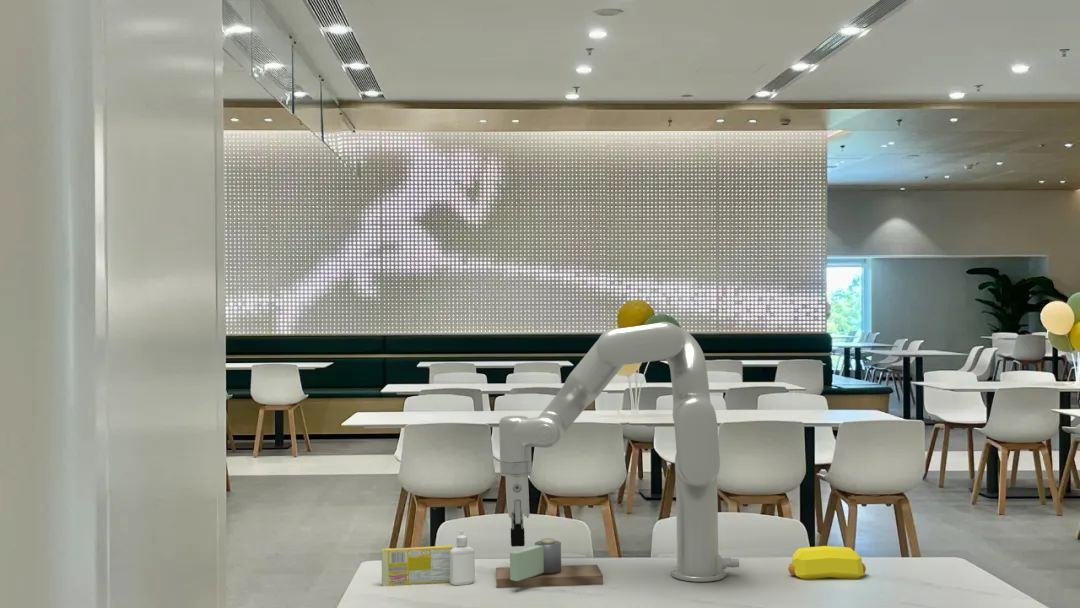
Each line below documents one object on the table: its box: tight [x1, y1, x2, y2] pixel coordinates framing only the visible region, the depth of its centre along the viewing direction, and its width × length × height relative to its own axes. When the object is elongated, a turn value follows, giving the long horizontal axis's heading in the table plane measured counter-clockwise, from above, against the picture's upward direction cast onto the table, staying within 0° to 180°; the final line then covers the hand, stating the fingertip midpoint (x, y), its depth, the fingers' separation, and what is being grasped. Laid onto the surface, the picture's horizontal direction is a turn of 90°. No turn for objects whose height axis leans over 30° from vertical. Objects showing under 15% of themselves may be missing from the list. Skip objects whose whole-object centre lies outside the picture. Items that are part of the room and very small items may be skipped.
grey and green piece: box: [509, 537, 562, 581], centre depth 217 cm, size 15×6×7 cm, turn 140°
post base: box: [495, 564, 604, 589], centre depth 220 cm, size 24×10×2 cm, turn 94°
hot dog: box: [787, 545, 867, 580], centre depth 221 cm, size 18×7×8 cm
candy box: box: [381, 545, 453, 587], centre depth 219 cm, size 16×2×8 cm, turn 97°
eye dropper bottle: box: [449, 529, 476, 586], centre depth 219 cm, size 4×6×12 cm
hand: (517, 545), depth 227 cm, fingers closed
